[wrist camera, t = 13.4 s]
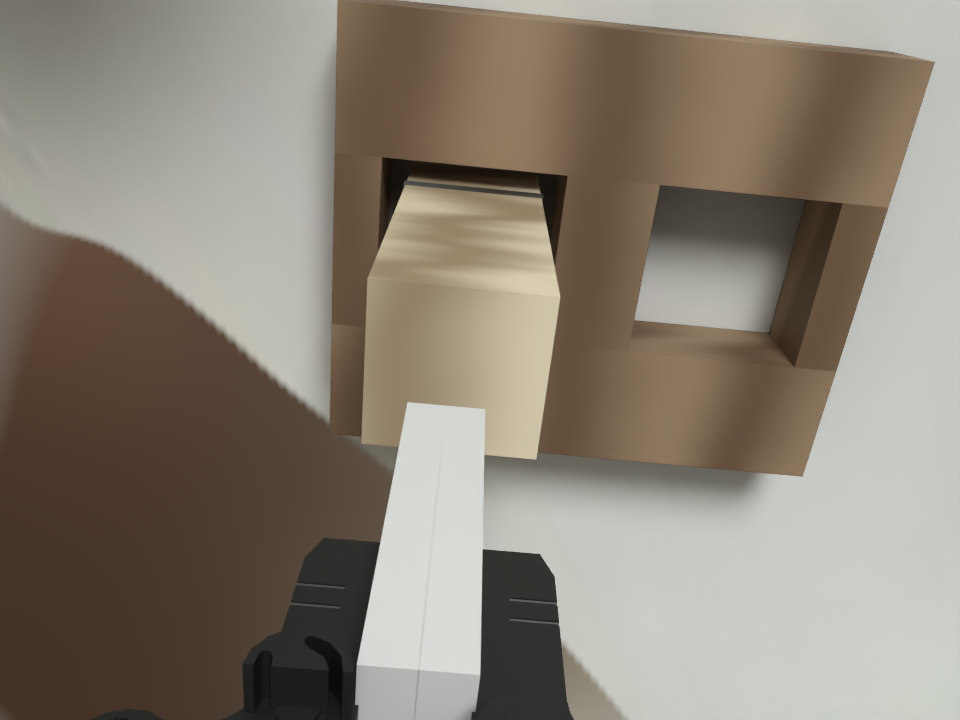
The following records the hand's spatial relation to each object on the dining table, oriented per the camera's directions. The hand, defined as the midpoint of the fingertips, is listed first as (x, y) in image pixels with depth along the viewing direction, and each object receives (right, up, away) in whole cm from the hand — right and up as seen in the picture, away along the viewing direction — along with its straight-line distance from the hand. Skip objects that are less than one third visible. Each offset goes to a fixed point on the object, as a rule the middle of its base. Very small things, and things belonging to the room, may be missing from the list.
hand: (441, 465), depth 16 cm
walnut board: (+5, +6, +14) cm, 16 cm away
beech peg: (0, +7, +14) cm, 16 cm away
